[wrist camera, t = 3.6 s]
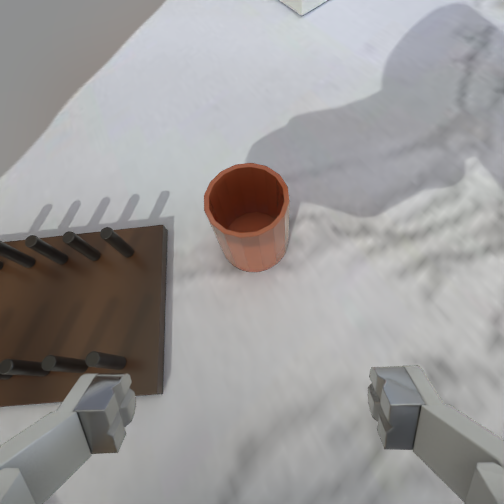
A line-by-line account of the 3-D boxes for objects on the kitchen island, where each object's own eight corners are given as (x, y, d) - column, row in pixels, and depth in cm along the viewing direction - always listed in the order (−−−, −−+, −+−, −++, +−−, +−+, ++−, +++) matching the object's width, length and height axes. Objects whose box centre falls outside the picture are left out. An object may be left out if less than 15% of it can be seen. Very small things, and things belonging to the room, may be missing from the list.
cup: (283, 208, 30) (283, 158, 24) (291, 268, 28) (293, 231, 22) (220, 215, 31) (203, 168, 24) (223, 275, 28) (204, 241, 22)
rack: (167, 230, 31) (145, 201, 26) (162, 393, 25) (134, 395, 20) (-16, 250, 32) (-70, 225, 27) (-59, 411, 26) (-135, 416, 22)
